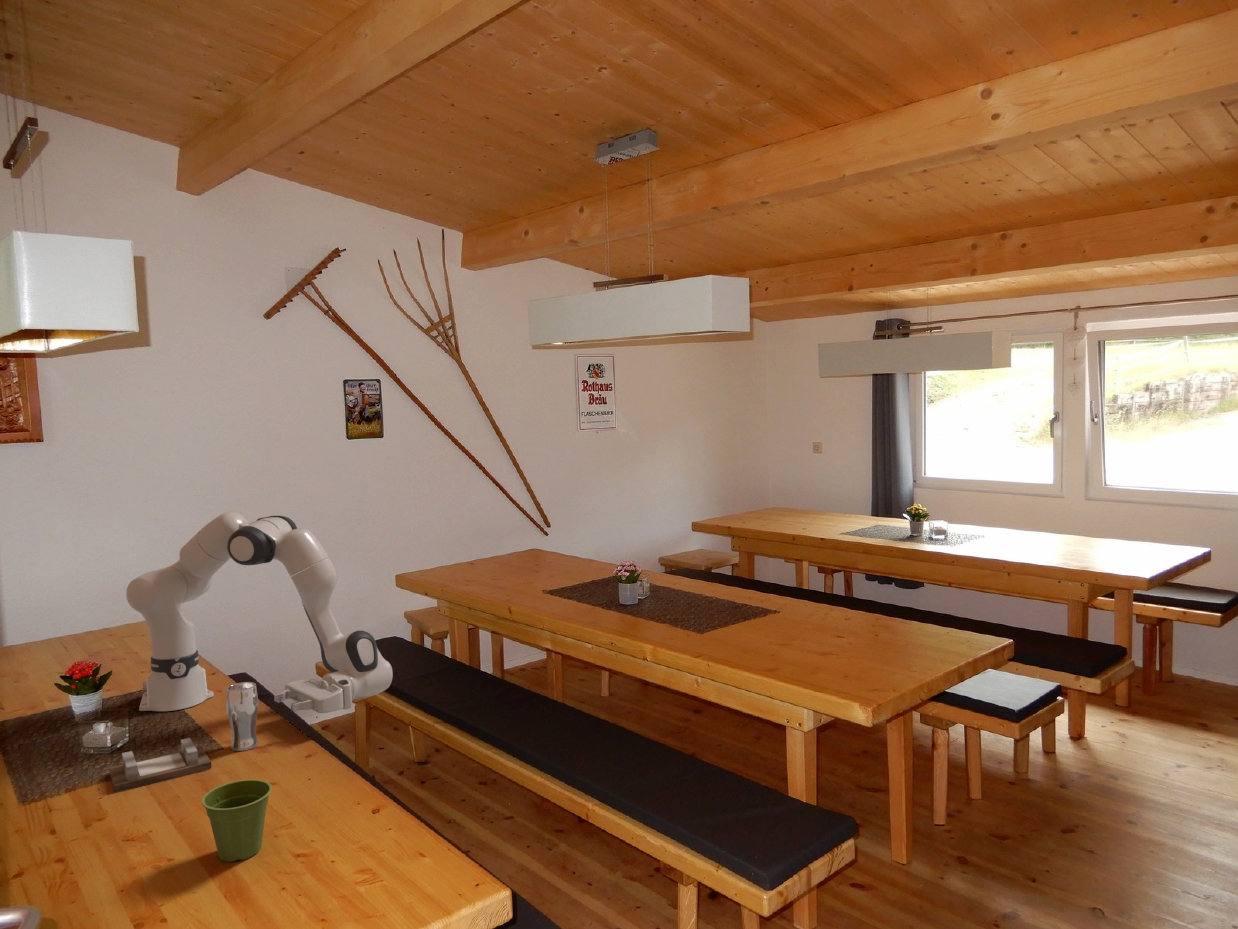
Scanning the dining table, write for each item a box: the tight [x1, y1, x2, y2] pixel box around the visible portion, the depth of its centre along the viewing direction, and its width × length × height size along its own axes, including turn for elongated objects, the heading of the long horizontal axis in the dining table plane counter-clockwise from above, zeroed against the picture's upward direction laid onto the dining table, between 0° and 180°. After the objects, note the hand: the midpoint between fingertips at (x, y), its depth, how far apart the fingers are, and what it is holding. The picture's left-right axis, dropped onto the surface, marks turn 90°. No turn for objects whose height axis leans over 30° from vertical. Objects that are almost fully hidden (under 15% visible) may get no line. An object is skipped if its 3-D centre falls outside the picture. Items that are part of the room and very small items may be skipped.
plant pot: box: [200, 778, 273, 863], centre depth 152 cm, size 12×12×11 cm
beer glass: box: [226, 681, 259, 752], centre depth 201 cm, size 7×7×15 cm
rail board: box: [108, 737, 212, 793], centre depth 188 cm, size 12×19×4 cm, turn 126°
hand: (283, 703), depth 209 cm, fingers open, 8 cm apart
